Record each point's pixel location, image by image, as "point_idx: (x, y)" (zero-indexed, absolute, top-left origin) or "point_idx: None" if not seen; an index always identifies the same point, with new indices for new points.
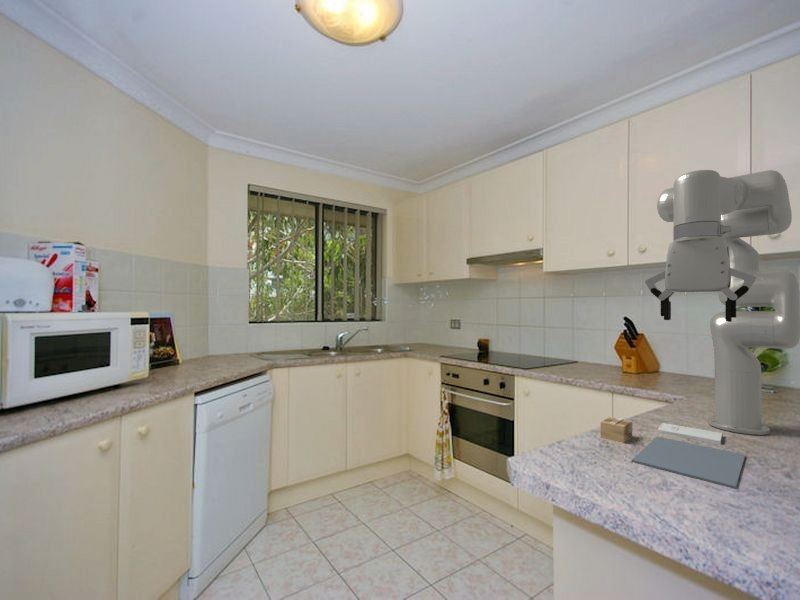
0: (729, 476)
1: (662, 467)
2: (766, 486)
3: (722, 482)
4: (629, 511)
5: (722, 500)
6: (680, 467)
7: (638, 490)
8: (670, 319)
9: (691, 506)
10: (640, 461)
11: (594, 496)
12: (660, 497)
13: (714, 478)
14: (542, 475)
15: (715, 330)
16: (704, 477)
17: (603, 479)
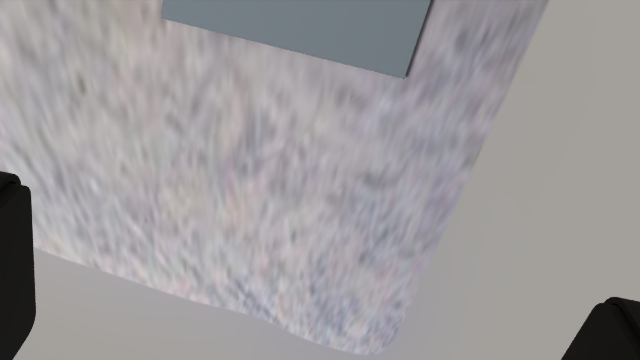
0: (408, 5)
1: (243, 37)
2: (488, 9)
3: (378, 68)
4: (199, 293)
5: (357, 165)
6: (289, 4)
7: (203, 204)
8: (29, 198)
9: (295, 224)
10: (185, 20)
11: (137, 270)
12: (243, 214)
13: (365, 48)
14: None
15: None
16: (341, 57)
17: (130, 186)
